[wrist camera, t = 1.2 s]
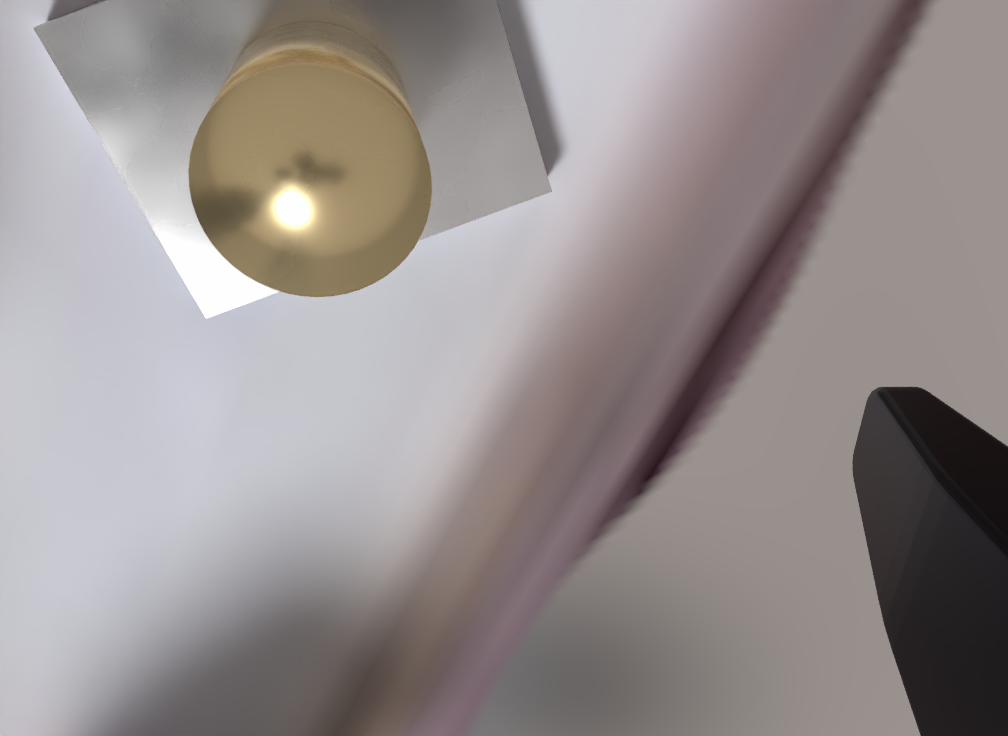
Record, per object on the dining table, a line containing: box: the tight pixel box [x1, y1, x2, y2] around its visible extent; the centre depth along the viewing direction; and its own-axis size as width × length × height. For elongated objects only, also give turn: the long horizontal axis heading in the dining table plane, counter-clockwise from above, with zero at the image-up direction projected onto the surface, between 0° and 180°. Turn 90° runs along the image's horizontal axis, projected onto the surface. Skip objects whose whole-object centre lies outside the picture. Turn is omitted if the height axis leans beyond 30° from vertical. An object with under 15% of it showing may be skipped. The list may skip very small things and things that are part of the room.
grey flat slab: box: [34, 0, 552, 319], centre depth 18 cm, size 9×7×1 cm
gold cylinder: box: [188, 21, 432, 297], centre depth 16 cm, size 4×4×5 cm
